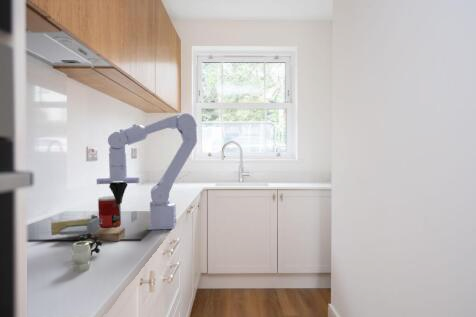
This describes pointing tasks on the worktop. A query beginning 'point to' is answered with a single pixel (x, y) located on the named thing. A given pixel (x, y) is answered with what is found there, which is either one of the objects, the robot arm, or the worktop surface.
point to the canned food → (109, 212)
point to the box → (108, 234)
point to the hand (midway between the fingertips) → (119, 203)
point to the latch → (69, 224)
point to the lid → (82, 228)
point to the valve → (84, 252)
